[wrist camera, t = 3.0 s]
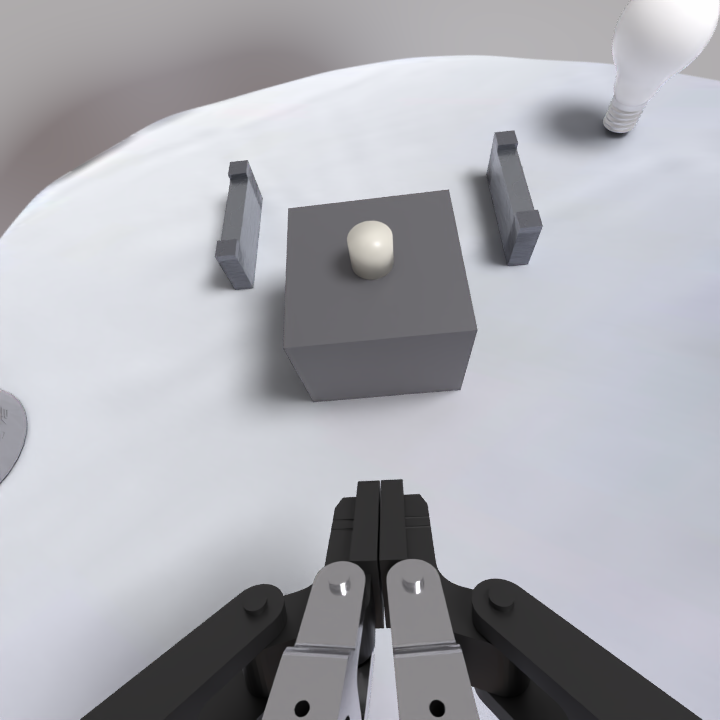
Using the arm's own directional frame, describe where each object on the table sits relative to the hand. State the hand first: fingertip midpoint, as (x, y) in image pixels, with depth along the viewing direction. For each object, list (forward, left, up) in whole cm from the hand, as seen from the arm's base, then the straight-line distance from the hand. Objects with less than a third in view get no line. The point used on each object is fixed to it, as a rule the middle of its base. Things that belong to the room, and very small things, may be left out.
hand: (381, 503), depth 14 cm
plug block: (0, +14, -12) cm, 18 cm away
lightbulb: (+22, +33, -12) cm, 41 cm away
